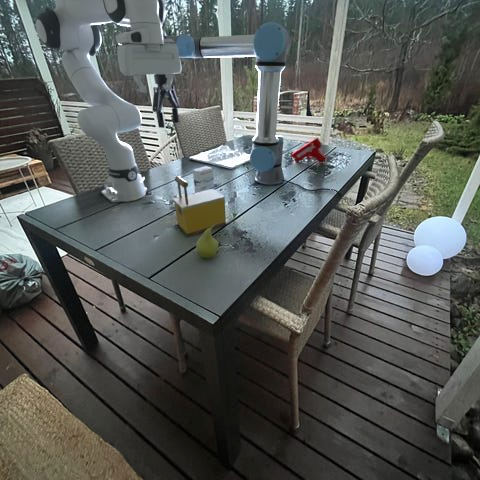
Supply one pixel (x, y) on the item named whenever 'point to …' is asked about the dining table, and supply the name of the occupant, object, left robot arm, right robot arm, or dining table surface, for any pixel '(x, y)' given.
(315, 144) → the toy gun
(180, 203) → the lid
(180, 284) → the dining table surface
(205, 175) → the ink box
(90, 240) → the dining table surface
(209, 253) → the fruit
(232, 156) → the relief map
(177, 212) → the chest
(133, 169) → the left robot arm
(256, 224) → the dining table surface
